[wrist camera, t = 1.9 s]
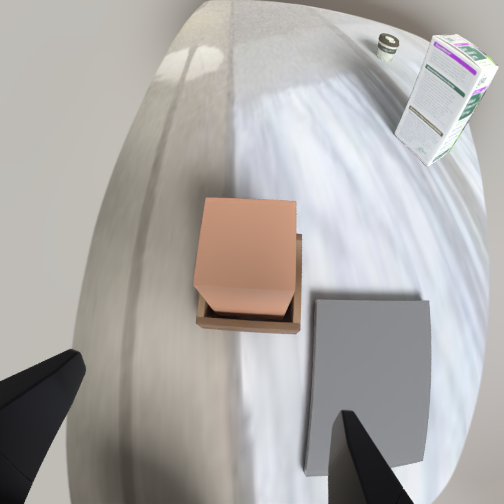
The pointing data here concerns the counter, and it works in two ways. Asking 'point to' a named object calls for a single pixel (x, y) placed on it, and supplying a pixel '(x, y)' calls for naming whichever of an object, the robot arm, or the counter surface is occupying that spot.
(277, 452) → the counter surface
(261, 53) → the counter surface
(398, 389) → the slate board
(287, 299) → the terracotta block
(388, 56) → the coffee cup
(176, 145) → the counter surface
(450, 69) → the syrup box
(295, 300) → the walnut holder
